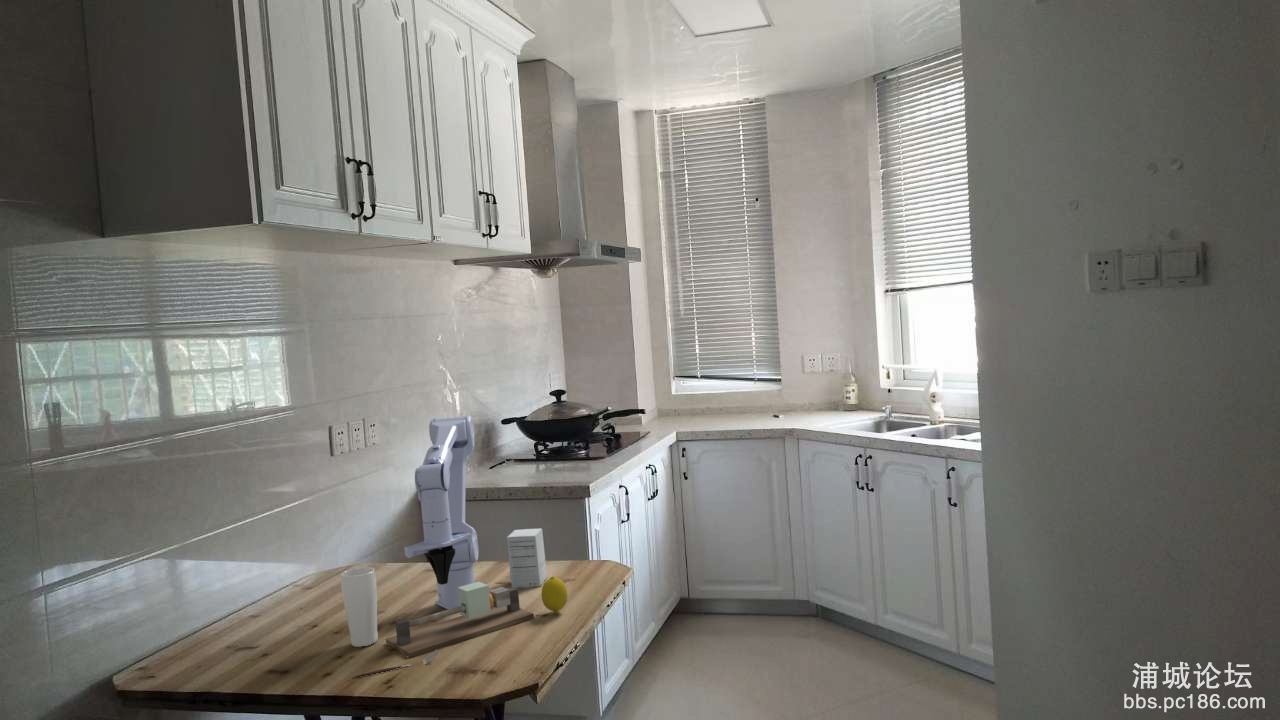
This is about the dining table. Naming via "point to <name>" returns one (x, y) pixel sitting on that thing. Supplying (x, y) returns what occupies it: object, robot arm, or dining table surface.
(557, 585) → the lemon
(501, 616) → the board
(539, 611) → the dining table surface
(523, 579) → the supplement box
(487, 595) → the pale green block
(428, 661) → the fork
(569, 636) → the dining table surface
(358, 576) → the drinking glass
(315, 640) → the dining table surface
